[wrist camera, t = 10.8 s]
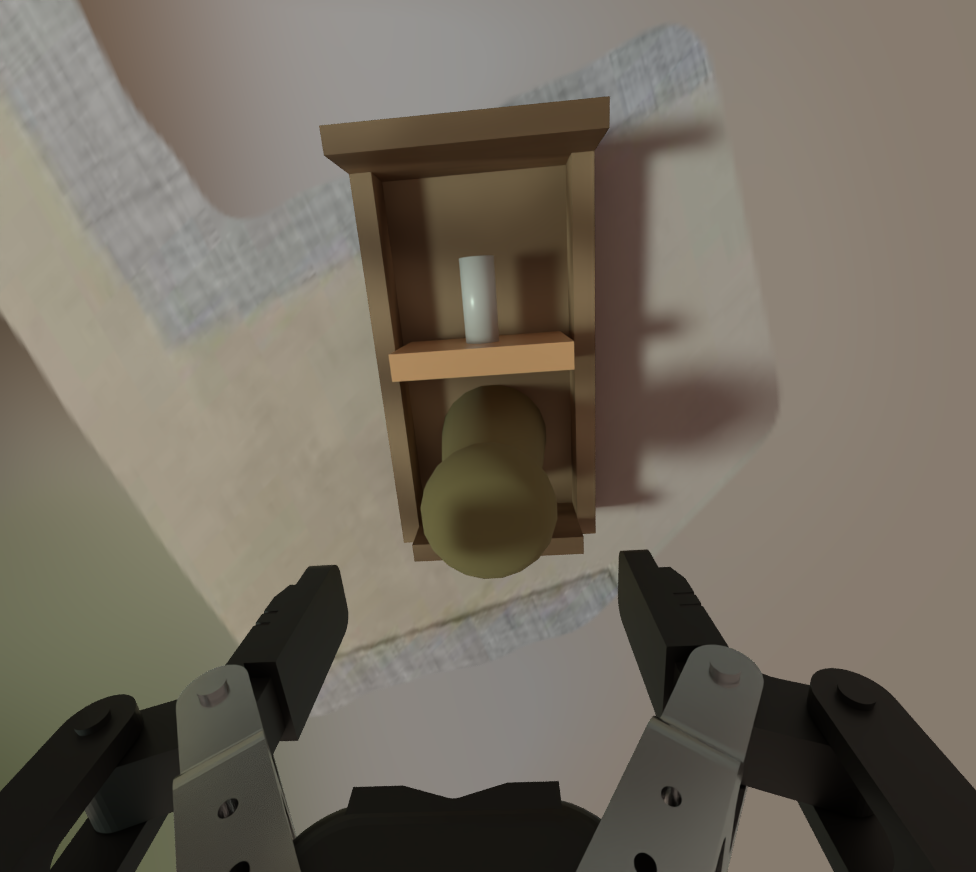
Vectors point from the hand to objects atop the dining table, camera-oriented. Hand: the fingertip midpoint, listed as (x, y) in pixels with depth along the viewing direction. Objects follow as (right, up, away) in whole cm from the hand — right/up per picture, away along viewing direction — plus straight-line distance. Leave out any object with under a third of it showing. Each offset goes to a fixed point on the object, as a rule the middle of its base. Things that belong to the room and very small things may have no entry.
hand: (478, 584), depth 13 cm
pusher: (0, +11, +11) cm, 15 cm away
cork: (+1, +4, +13) cm, 14 cm away
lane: (0, +9, +13) cm, 16 cm away
